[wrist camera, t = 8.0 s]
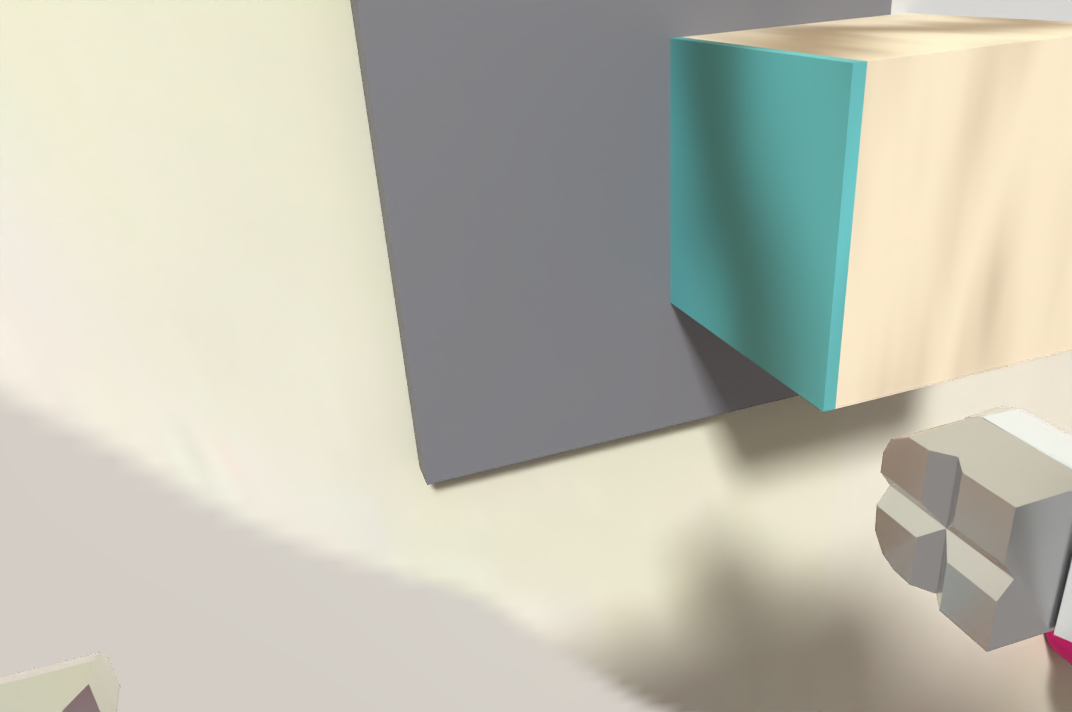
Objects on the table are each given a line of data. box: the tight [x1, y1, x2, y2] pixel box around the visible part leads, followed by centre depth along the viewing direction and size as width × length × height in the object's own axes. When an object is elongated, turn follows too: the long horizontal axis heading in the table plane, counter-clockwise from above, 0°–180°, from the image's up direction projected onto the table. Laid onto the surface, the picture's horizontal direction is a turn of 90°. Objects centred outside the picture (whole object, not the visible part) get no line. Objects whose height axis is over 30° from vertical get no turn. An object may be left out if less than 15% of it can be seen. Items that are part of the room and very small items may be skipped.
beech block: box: [670, 13, 1072, 412], centre depth 20 cm, size 7×7×7 cm
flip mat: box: [350, 0, 1072, 485], centre depth 25 cm, size 26×15×1 cm, turn 94°
